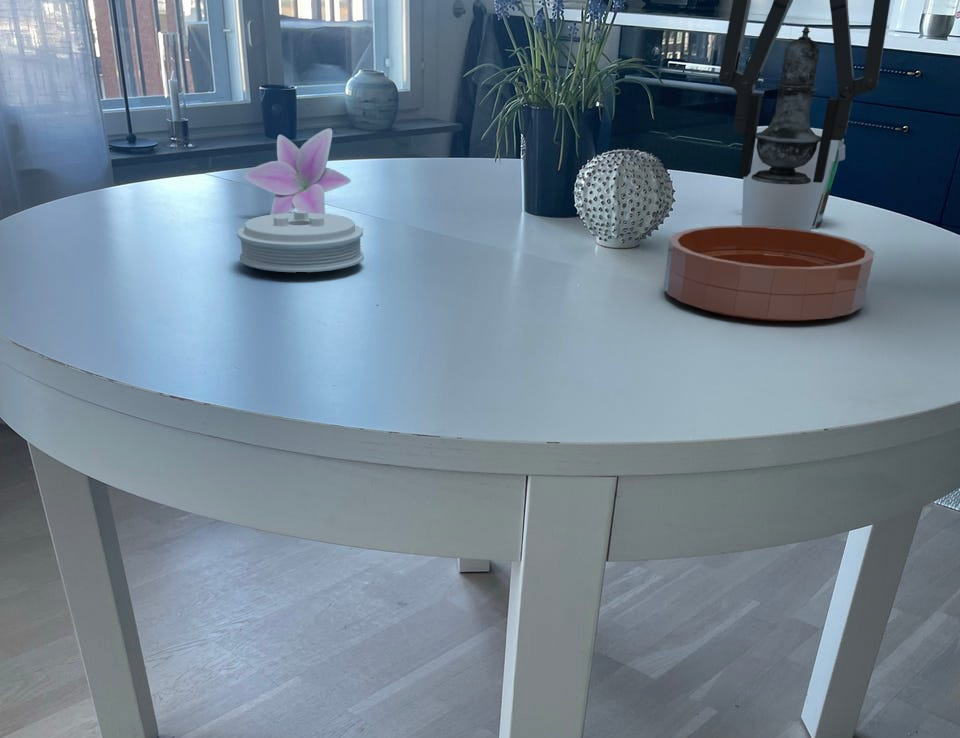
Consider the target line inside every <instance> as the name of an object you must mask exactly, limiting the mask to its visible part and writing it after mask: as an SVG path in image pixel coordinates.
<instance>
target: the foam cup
mask: <svg viewBox="0 0 960 738" xmlns="http://www.w3.org/2000/svg"><path fill="white" fill-rule="evenodd" d="M768 126H769V125H763V126H762V125H761V126H758V127H757V133H759V132H762V131H764V130H765V129H766V128H767V127H768ZM810 128H811V130H812V131H813V132H814V133H815V135H818V136H820V137H821V136H822V131H823V128H822V129H821V128H815V127H810ZM838 141H839V140H831V144H830V149H829V155H828V160H827V165H826V170H825V176H824V179H823V181H822V183H818V182H813V179H814V174H815V169H816V163H817V158H818V152H819V147H820V142H821V141H820V142H818V143H817V149H816V152H815V153H814V155H813V157H812V159H811V160H810V161H809V162H807V163H806V164H805V165H804V166H801V167H797V168H794V169H795V172H800V173H804V174H806V175H807V177H808V178H810V179H811V182H810V183H807V184H795V185H790V184H773V183H765V182H760V181H756V180H753V179H751V177H752V175H754V174H756V173H757V172H758V171H762V170H769V169H770V168H772V167H770V166H768V165H766V164H765V163H763V162H762V161H761V159H760V158H759V156H758V152H757V138H756V140H755V147H754V153H753V160H752V166H751V173H750V174H749V175H748V176H747V177H742V179H743V181H742V209H741V211H742V212H741V214H742V215H741V225H744V226H771V227H782V228H793V229H801V230H808V231H812V229H813V228H812V225H813V222H814V219H815V216H816V212H817V209H818V206H819V203H820V200H821V196H822V193H823V190H824V187H825V184H826V180H827V177H828V174H829V171H830V168H831V165H832V161H835V157H836V152H837V146H838Z"/></svg>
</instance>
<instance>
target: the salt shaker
mask: <svg viewBox="0 0 960 738" xmlns="http://www.w3.org/2000/svg"><path fill="white" fill-rule="evenodd" d="M810 32H811V31H810V28H809V25H805V27H804V28H803V30H801V33H802V35H801V36H799V37H798V38H797V39H795V40H792V41H791V42H790V43H789V44H788V45H787V46H786V49H785V53H784V59H783V66H782V72H781V76H780V77H781V78H780V83H778V84H777V85H775V87H774V88H775V89H776V90H777V91H778V92H777V98H776V104H775V110H774V114H773V116H772V119H771V122H770V123H769V125H767V126H768V127H767V128H766V129H765V130H764V131H762V132H759V133H755V138H757V152H758V156H759V158H760V159H761V161H762V162H763V163H765V164H766V165H768V166H770V167H772V168H770V169H769V170H762V171H758V172H757V173H756V174H754V175H752V177H751V179H753V180H756V181H760V182H765V183H773V184H790V185H795V184H807V183H810V182H811V179H810V178H808V177H807V175H806V174H804V173H800V172H795V169H794V168H797V167H801V166H804V165H805V164H806V163H807V162H809V161H810V160H811V159H812V157H813V155H814V153H815V152H816V149H817V143H818V142H820V141H821V137H820V136H818V135H815V133H814V132H813V131H812V130H811V128H812V127H811V122H810V121H811V120H810V113H811V108H812V107H811V106H812V102H813V95H814V93H815V92H816V91H818V90H819V89H818V87H817V86H816V85H815V80H816V74H817V70H818V69H817V68H818V64H819V63H818V62H819V58H820V46H819V44H818V43H817V41H815V40H812V38H811V37H810V36H809V34H810Z"/></svg>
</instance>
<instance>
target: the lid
mask: <svg viewBox="0 0 960 738" xmlns="http://www.w3.org/2000/svg"><path fill="white" fill-rule="evenodd" d="M236 234H237V235H236V236H237V238H238V239H240V245H241V253H240V255H239V261H240V262H241V263H242V264H244V265H245V266H248V267H251V268H255V269H257V270H258V269H259V270H264V271H269V272H271V271H272V272H282V273H283V272H284V273H296V272H307V273H316V272H326V271H335V270H340V269H341V270H342V269H345V268H348V267H353V266H355V265H358V264H359V263H361V262H363V260H364V259H365V254H364V252H363V251H362V248H361V247H362V245H361V238H362V237H363V235H364V230H363V228H361V226H359V225H356V223H355V221H354V220H353V219H351V218H348V217H345V216H342V215H337V214H330V213H325V214H321V213H308V212H307V211H298V210H296V211H293V212H289V213H282V214H272V215H271V214H266V215H261V216H255V217H253V218H250V219H248V220H246V221H245V222H244V224H243V226H242V227H240V228H239V229H237V231H236Z"/></svg>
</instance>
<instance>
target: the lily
mask: <svg viewBox="0 0 960 738" xmlns="http://www.w3.org/2000/svg"><path fill="white" fill-rule="evenodd" d="M276 139H277V140H276V157H277V160H273V161H268V162H264V163H261V164H259V165H257V166H255V167H252V168H250V169H249V170H247V171H245V172H244V174H243V175H242V176H243V178H244V179H245V180H246V181H247V182H249V183H251V184H253V185H254V186H257V187H259V188H261V189H263V190H265V191H267V192H268V193H269V192H270V193H272V194H274V198H273V200H272V205H271V209H270V215H272V214H282V213H292V211H294V209H296V211H307V212H308V213H321V214H326V206H325V205H326V204H325V203H326V202H325V201H326V199H325V193H327V192H331V191H333V190H336V189H338V188H339V189H340V188H342V187H344V186H346V185H349V184H351V182H352V180H351V179H350V178H349V177H348V176H347V175H345V174H343V173H342V172H340V171H337V170H335V169H333V168H330V167H327V164H328V161H329V156H330V150H331V145H332V141H333V140H332V139H333V129H332V128H331V127H330V128H325V129H323V130H321V131H319V132H318V133H316V134H315V135H313V136H312V137H310V138H309V139H307V140H306V141H305V142H304V143H303V144H302V145H301V146H300V148H299V147H298V146H297V145H296V144H295V143H293V141H291V140H290V139H289V138H287V137H286V136H284V135H283V134H278V135H277V138H276Z"/></svg>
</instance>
